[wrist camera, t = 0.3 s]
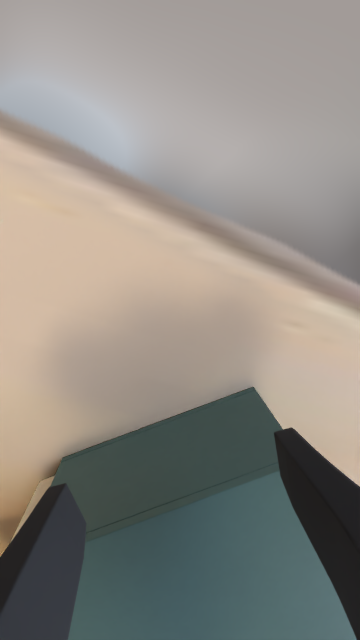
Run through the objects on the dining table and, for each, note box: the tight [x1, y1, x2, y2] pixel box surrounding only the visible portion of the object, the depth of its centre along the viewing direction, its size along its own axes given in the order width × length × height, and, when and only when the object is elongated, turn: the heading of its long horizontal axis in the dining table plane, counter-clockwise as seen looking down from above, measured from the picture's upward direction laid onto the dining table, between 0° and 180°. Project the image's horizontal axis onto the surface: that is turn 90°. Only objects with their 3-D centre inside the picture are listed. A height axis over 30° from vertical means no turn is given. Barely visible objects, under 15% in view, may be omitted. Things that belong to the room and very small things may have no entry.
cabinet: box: [50, 387, 357, 640], centre depth 20 cm, size 14×13×8 cm
